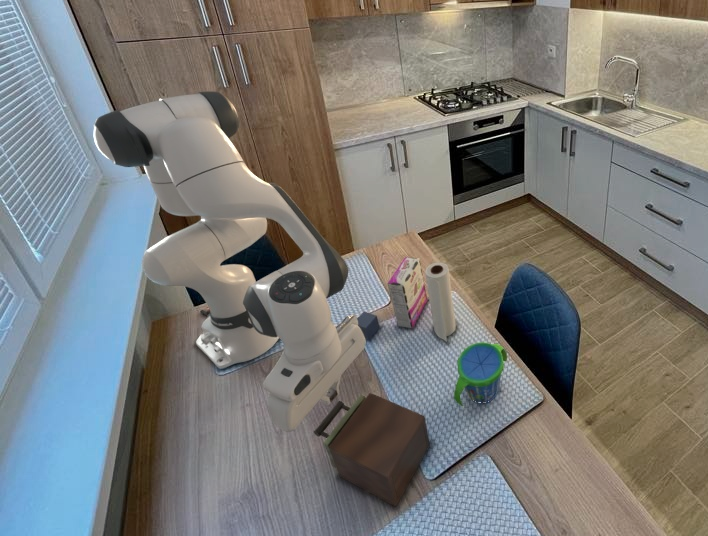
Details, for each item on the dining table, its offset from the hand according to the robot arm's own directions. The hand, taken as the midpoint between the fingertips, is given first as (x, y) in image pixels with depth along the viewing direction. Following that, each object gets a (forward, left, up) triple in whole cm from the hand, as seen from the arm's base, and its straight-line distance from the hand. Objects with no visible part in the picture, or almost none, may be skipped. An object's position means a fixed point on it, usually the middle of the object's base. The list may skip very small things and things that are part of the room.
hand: (331, 398), depth 81 cm
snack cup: (+23, +21, -14) cm, 34 cm away
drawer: (+5, 0, -13) cm, 14 cm away
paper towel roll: (+5, +33, -14) cm, 36 cm away
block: (-15, +25, -14) cm, 33 cm away
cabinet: (+11, 0, -14) cm, 18 cm away
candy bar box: (-7, +35, -14) cm, 39 cm away
